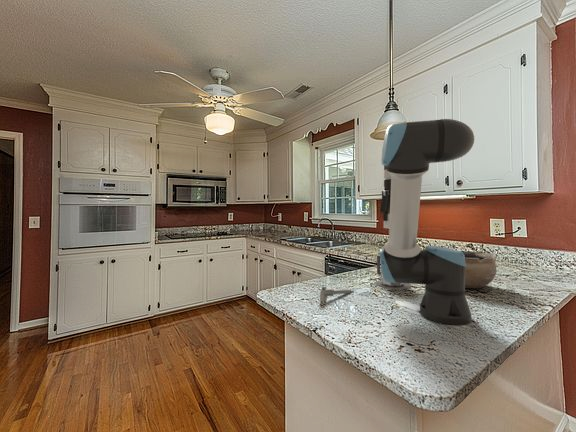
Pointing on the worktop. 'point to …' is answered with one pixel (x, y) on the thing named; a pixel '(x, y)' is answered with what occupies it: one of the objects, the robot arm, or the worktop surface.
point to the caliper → (331, 293)
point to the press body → (385, 283)
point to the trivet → (393, 287)
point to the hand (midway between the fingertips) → (392, 227)
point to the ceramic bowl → (479, 269)
